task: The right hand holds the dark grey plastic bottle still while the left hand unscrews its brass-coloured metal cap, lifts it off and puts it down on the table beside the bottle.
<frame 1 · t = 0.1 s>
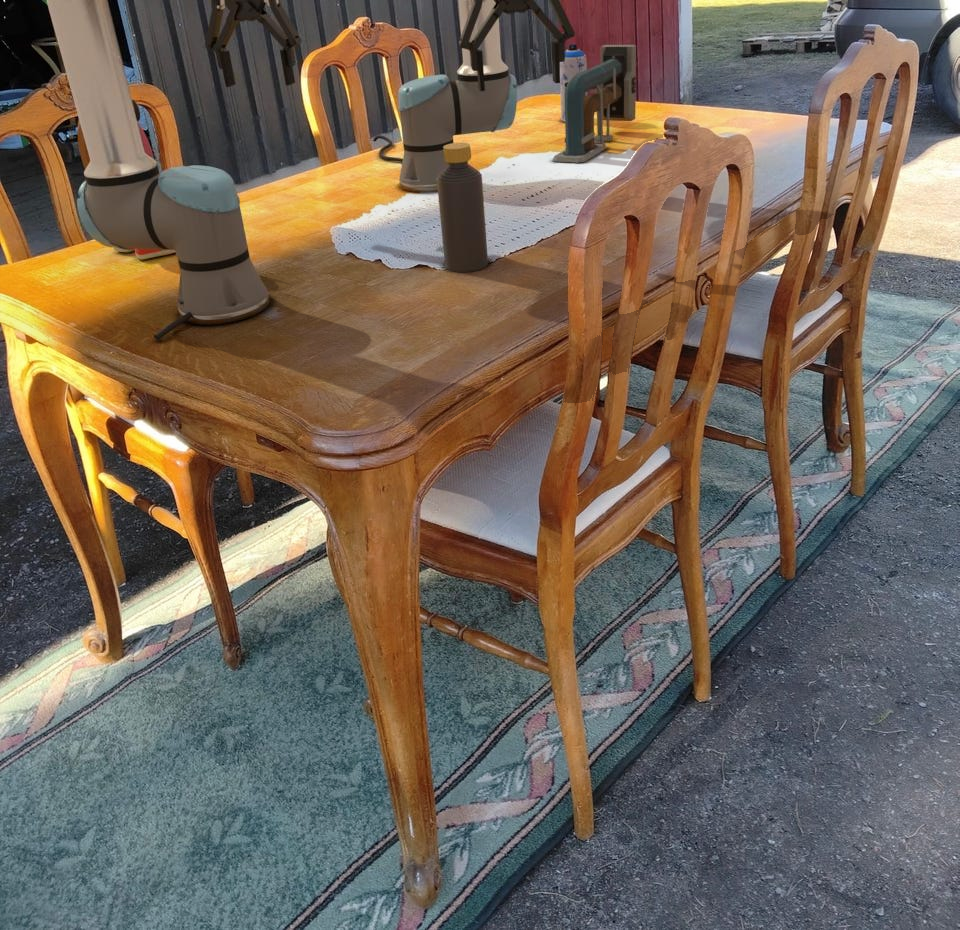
left hand: (260, 85, 196), 28 cm above the table, tool pointing down, fingers open, 13 cm apart
right hand: (519, 86, 173), 28 cm above the table, tool pointing down, fingers open, 13 cm apart
bottle: (466, 264, 177), on the table
cap: (456, 147, 166), point 21 cm above the table, screwed on, not yet turned
aerosol can: (574, 120, 278), on the table
toy: (148, 250, 199), on the table
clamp: (594, 145, 249), on the table
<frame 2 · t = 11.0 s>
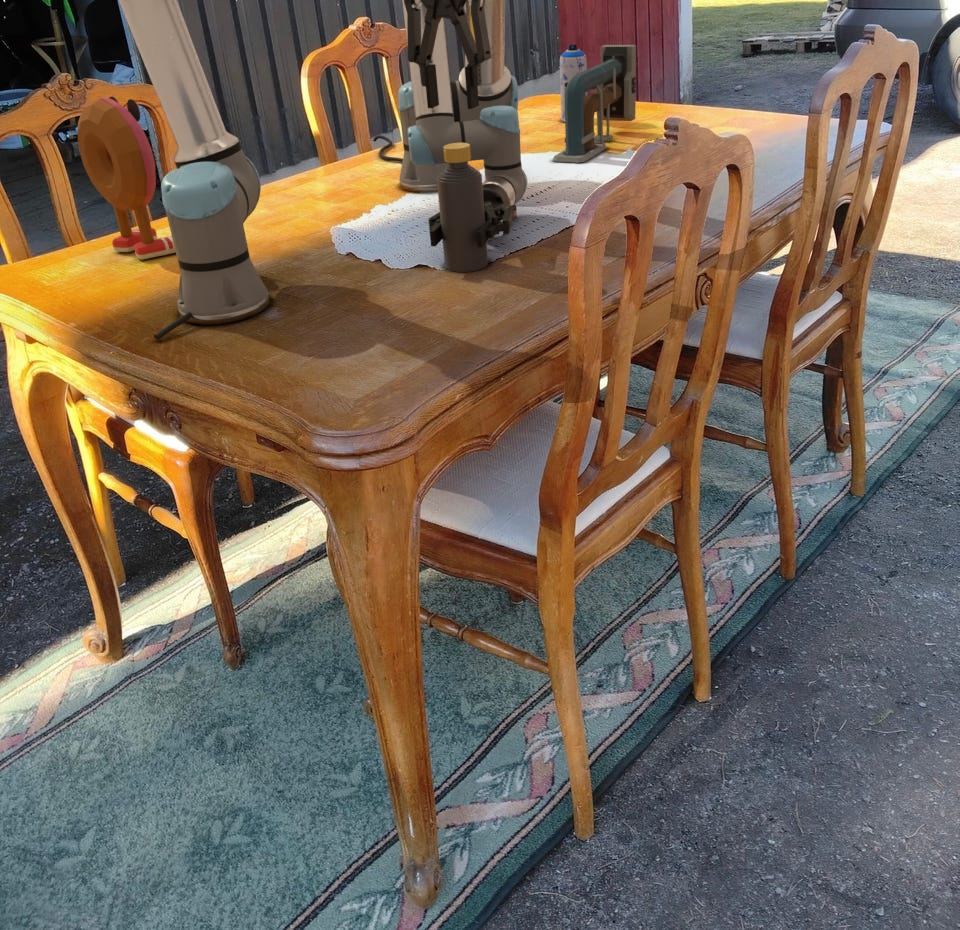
left hand: (453, 106, 163), 28 cm above the table, tool pointing down, fingers open, 7 cm apart
right hand: (455, 239, 170), 6 cm above the table, tool horizontal, fingers closed on bottle, 8 cm apart
bottle: (466, 264, 177), on the table, touching right hand
everything else where it was.
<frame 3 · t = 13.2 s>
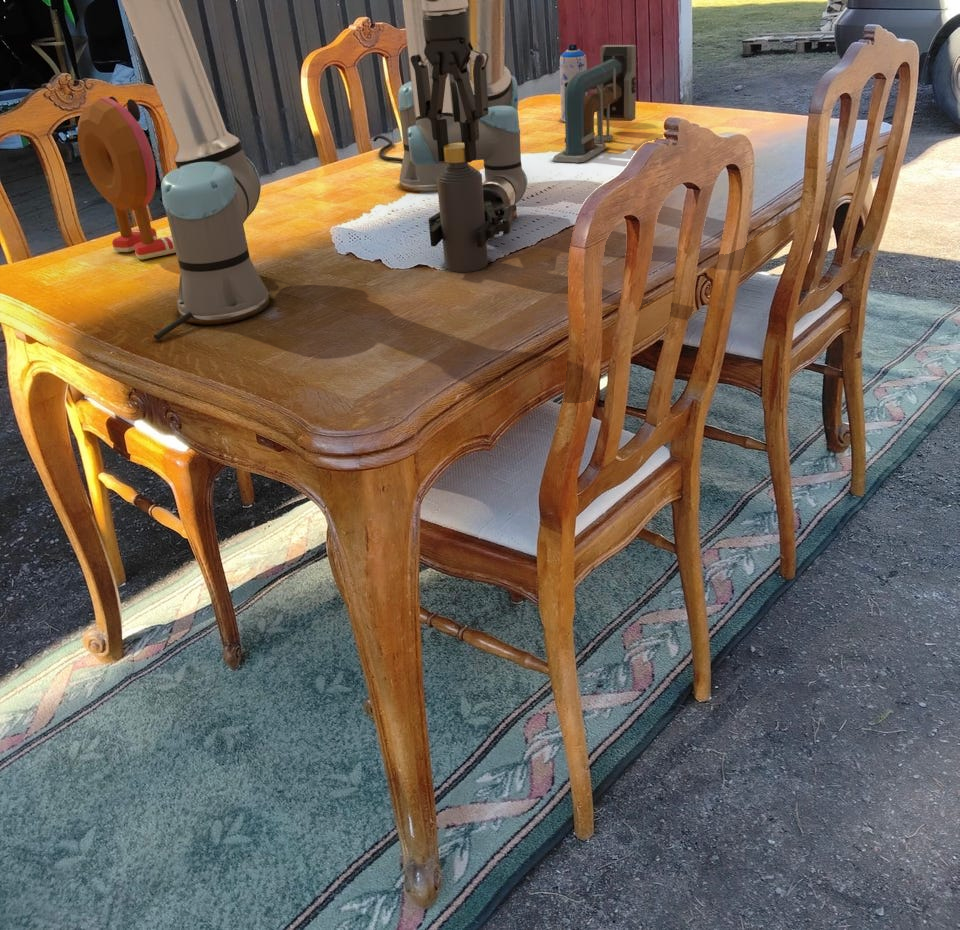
left hand: (457, 159, 167), 19 cm above the table, tool pointing down, fingers closed on cap, 4 cm apart
right hand: (455, 239, 170), 6 cm above the table, tool horizontal, fingers closed on bottle, 8 cm apart
bottle: (466, 264, 177), on the table, touching right hand
cap: (456, 147, 166), point 21 cm above the table, screwed on, not yet turned, touching left hand
everything else where it was.
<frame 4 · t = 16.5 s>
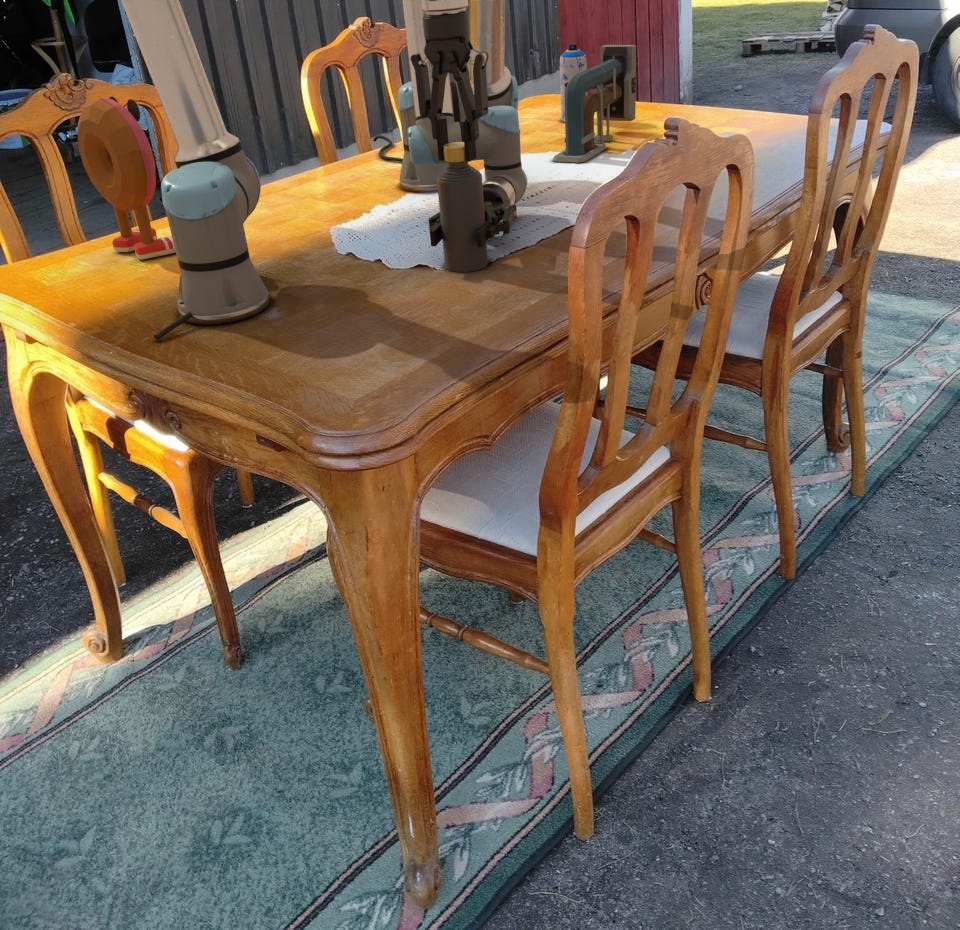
left hand: (457, 158, 167), 19 cm above the table, tool pointing down, fingers closed on cap, 4 cm apart
right hand: (455, 239, 170), 6 cm above the table, tool horizontal, fingers closed on bottle, 8 cm apart
bottle: (466, 264, 177), on the table, touching right hand
cap: (456, 146, 166), point 21 cm above the table, turned 107° so far, risen 0.1 cm, still on its thread, touching left hand
everything else where it was.
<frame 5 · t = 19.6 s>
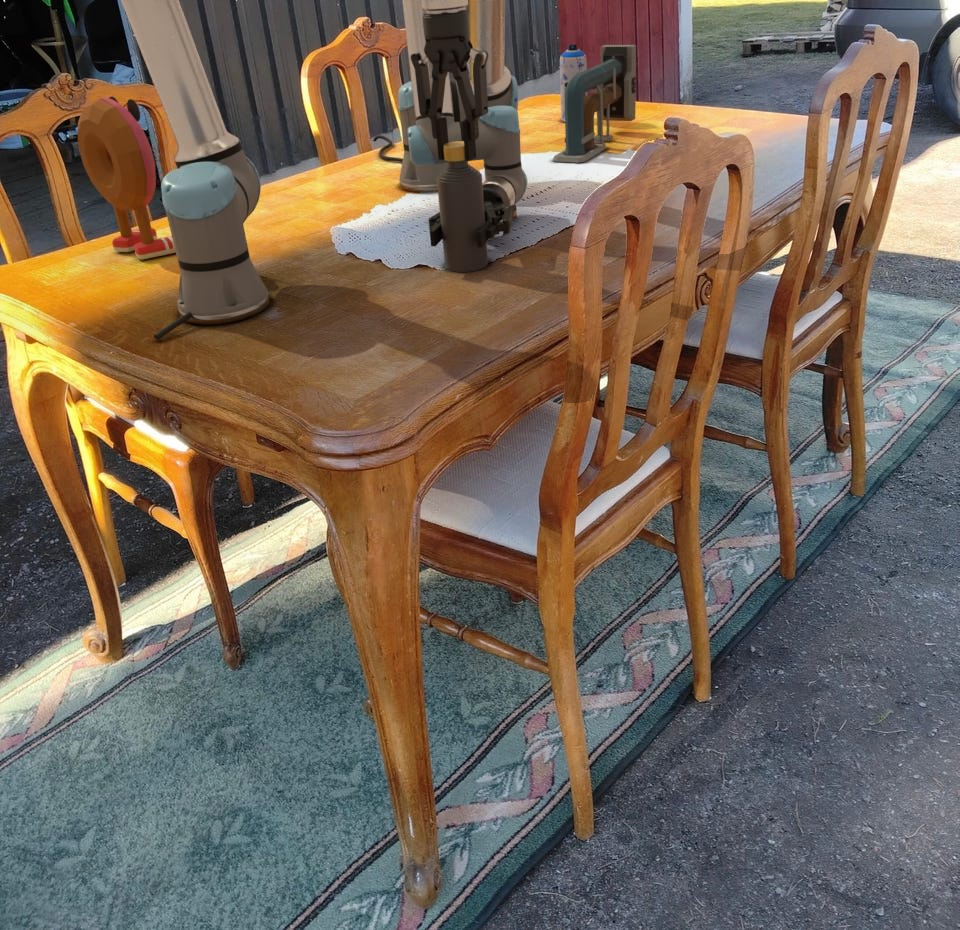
left hand: (457, 158, 167), 19 cm above the table, tool pointing down, fingers closed on cap, 4 cm apart
right hand: (455, 239, 170), 6 cm above the table, tool horizontal, fingers closed on bottle, 8 cm apart
bottle: (466, 264, 177), on the table, touching right hand
cap: (456, 146, 166), point 21 cm above the table, turned 214° so far, risen 0.2 cm, still on its thread, touching left hand
everything else where it was.
when the left hand's fingers open (2 cm above the table, at t = 32.3 s): cap drops 2 cm, point 2 cm above the table.
when the right hand's fingers open (6 cm above the table, at t = 33.5 s): bottle stays where it is, on the table.
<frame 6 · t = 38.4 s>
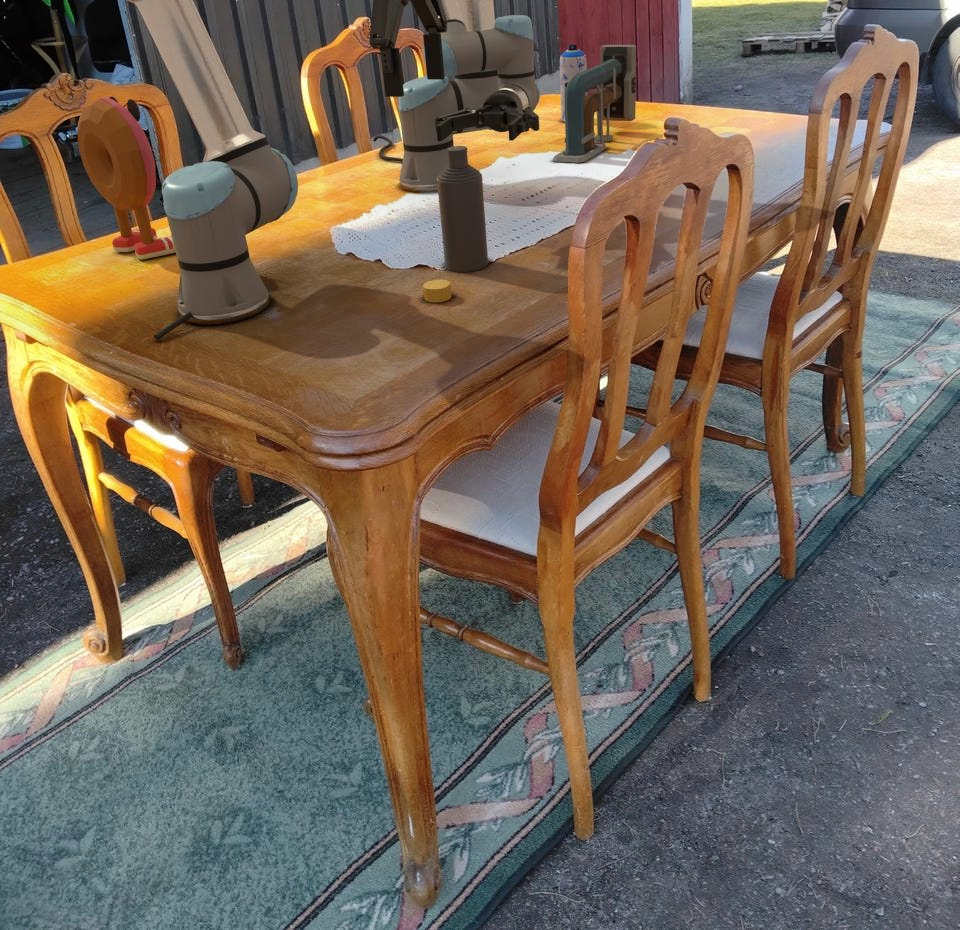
left hand: (416, 87, 146), 34 cm above the table, tool pointing down, fingers open, 13 cm apart
right hand: (474, 133, 174), 21 cm above the table, tool horizontal, fingers open, 13 cm apart
bottle: (466, 264, 177), on the table
cap: (436, 286, 162), point 2 cm above the table, off its thread
everything else where it was.
at the end: cap came off its thread; cap point 2.1 cm above the table; the left hand is holding nothing; the right hand is holding nothing; bottle tilted 0°; bottle moved 0.0 cm from its start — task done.
